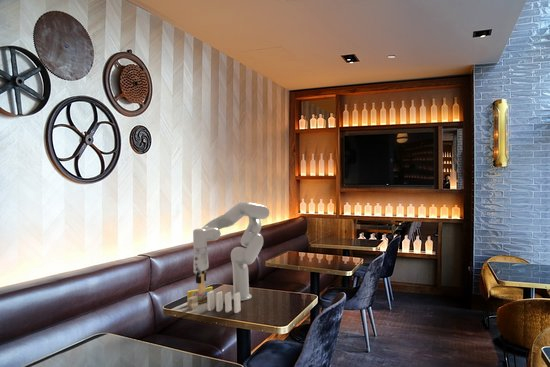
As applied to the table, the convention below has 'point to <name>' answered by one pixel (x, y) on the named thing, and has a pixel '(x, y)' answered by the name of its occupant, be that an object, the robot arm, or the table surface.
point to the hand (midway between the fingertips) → (201, 281)
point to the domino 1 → (201, 286)
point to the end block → (192, 302)
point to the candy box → (199, 294)
